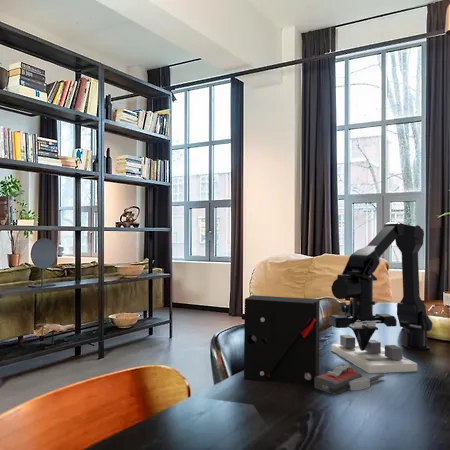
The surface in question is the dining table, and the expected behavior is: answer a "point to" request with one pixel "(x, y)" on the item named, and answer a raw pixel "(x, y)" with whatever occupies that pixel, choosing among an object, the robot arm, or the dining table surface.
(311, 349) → the electrical component
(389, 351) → the grey squarish block
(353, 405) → the dining table surface
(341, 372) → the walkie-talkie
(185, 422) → the dining table surface
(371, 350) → the grey block
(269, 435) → the dining table surface
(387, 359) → the switch board
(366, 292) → the robot arm
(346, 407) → the dining table surface
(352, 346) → the grey plastic block
